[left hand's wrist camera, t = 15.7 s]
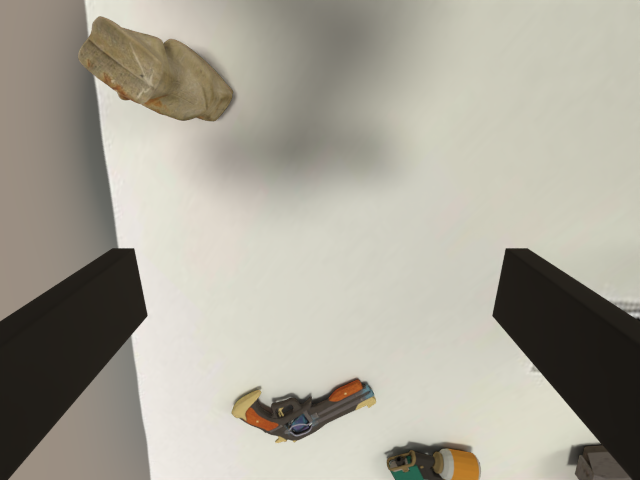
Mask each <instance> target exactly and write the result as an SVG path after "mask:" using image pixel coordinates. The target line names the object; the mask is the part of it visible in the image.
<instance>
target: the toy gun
mask: <svg viewBox="0 0 640 480" xmlns="http://www.w3.org/2000/svg"><path fill="white" fill-rule="evenodd" d="M260 394H261V391H260V390H256V391H254V392H252V393H250V394H247V395H245V396H244V397H242V398H241V399H239V400H238V401H237V402H236V404H235V405H234V407H233V410H232V414H233V416H234V417H236V418H240V419H241V420H243V421H244V422H246V423H248V424H250V425H252V426H254V427H257V428H259V429H261V430H263V431H264V432H265V433H268V434H271V435H276V436H278V437H279V438H278V439H277V440H276V441H275V442H276V443H280V442H283V441H284V442H286V441H287V440H288V439H289V440H293V442H296V441H297V440H300V439H302V438H304V437H306V436H308V435H310V434H312V433H314V432H316V431H317V430H319V429H320V428H321V427H323V426H324V425H325V424H327V423H329V422H331V421H333V420H335V419H337V418H339V417H341V416H343V415H345V414H348V413H350V412H352V411H354V410H357V409H359V408H362V407H364V406H366V405H367V406H368V408H369V407H371V406H372V405H374V404H375V403H376V399H375V397H374V393H373V391H372V389H370V388H369V386H368V384H367V385H365V384H364V385H362V384H361V382H360V381H359V380H355V381H353V382H351V383H349V384H347V385H344V386H342V387H340V388H338V389H336V390H335V391H334V392H333V393H332V394H331V396H330V397H329V398H328V399H326V400H324V401H322V402H320V403H317V404H313V405H311V403H312V396H311V397H310V398H309V399H308V400H307V401H306V402H304V403H303V404H300V403H299V401H298V400H297V399H295V398H292V397H291V398H289V399H287V400H285V401H281V402H277V403H272V405H271V409H272V411H273V414H272V413H269V412H268V411H266V410H264V409H263V408H261V406H260V405H259V403H258V401H257V399H258V397H259V396H260ZM288 405H292V406H293V409H291V410H289V411H287V412H285V413H283V412H282V409H283V408H284V407H286V406H288ZM277 408H279V411H280V412H281V414H280V412H279V414H278V413H277V412H276V409H277ZM293 419H295V420H294V421H293V423H292V424H291V425H290V423H291V420H293ZM288 422H290V423H289V424H288ZM309 422H310V423H312V425H310V426H309V424H310V423H309ZM293 430H294V431H293Z"/></svg>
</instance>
